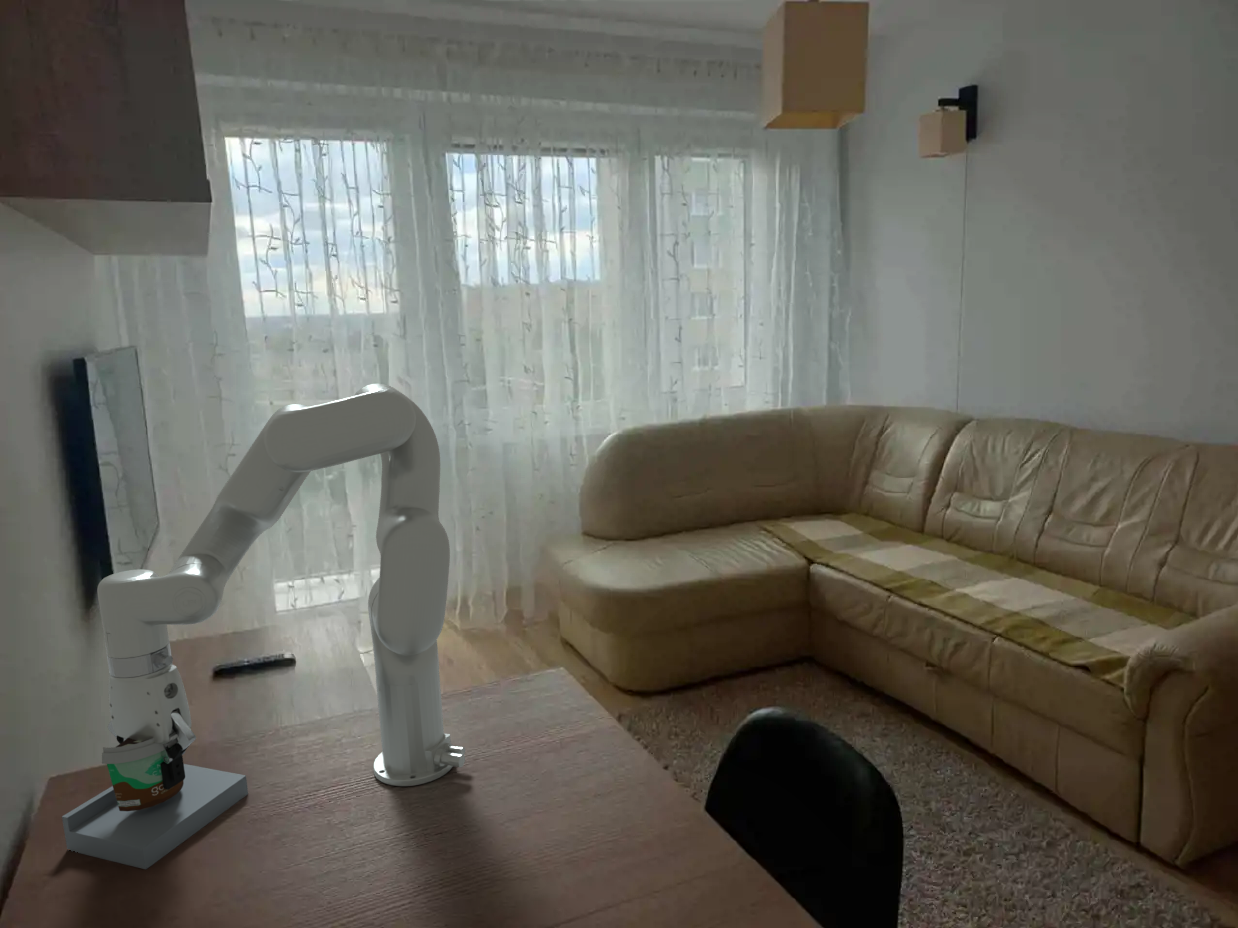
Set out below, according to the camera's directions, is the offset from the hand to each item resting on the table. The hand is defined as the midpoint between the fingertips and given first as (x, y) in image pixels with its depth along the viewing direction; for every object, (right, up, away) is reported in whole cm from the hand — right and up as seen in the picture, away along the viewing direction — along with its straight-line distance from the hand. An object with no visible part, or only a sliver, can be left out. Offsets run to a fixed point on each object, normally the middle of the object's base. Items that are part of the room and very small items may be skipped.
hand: (158, 779), depth 118 cm
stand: (0, -6, +1) cm, 6 cm away
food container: (+1, -2, 0) cm, 2 cm away
